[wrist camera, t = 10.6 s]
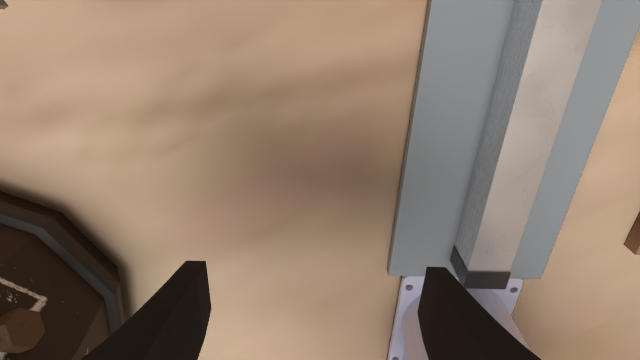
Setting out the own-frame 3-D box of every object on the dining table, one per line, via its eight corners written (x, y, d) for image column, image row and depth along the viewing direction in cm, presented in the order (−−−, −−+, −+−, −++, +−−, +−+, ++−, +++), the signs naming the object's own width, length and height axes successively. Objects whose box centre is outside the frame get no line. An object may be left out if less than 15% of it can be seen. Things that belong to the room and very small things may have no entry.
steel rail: (488, 261, 25) (505, 289, 23) (449, 260, 25) (462, 288, 23) (642, -245, 14) (703, -285, 12) (575, -250, 14) (623, -291, 12)
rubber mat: (535, 272, 26) (540, 279, 26) (387, 269, 26) (388, 275, 25) (749, -287, 14) (766, -297, 14) (474, -305, 14) (481, -316, 13)
